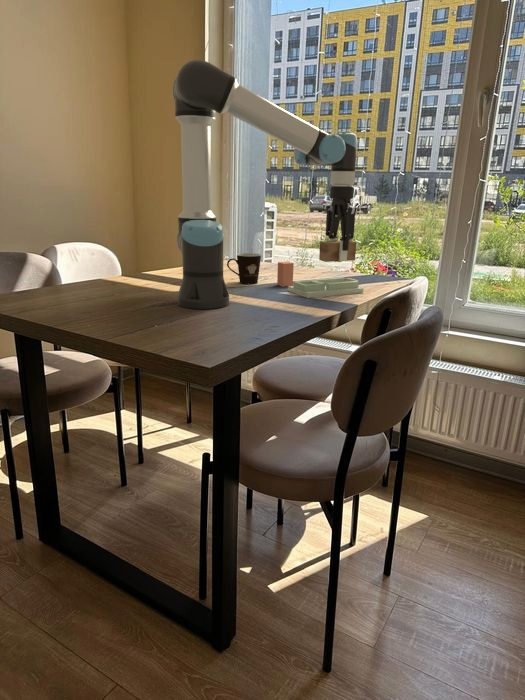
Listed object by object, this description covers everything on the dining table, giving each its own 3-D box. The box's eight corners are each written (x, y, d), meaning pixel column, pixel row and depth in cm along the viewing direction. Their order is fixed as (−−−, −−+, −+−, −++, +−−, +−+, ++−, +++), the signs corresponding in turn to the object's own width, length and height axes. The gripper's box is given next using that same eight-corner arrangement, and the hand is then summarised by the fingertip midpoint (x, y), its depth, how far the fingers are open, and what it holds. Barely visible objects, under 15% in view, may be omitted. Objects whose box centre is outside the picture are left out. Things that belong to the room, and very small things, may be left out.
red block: (282, 286, 179) (283, 263, 177) (277, 284, 182) (277, 262, 180) (292, 286, 181) (293, 263, 178) (286, 284, 184) (287, 261, 182)
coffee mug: (261, 281, 189) (262, 253, 186) (259, 285, 180) (259, 256, 177) (230, 279, 190) (230, 252, 187) (226, 284, 181) (226, 255, 178)
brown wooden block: (325, 261, 167) (326, 238, 164) (319, 260, 171) (320, 237, 168) (355, 260, 171) (356, 237, 168) (348, 258, 175) (349, 235, 172)
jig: (307, 297, 162) (308, 286, 161) (288, 290, 172) (288, 280, 171) (363, 292, 172) (364, 282, 171) (342, 286, 182) (343, 276, 181)
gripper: (369, 186, 158) (363, 262, 165) (335, 185, 173) (331, 255, 180) (349, 186, 154) (344, 263, 162) (316, 185, 169) (313, 256, 177)
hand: (337, 259), depth 171 cm, fingers closed on brown wooden block, 5 cm apart
